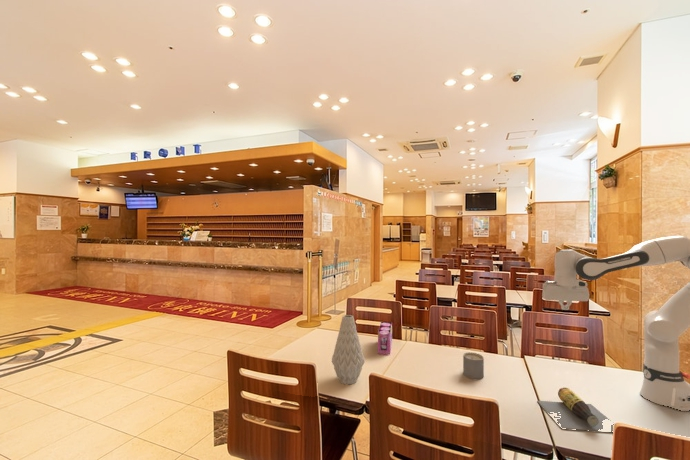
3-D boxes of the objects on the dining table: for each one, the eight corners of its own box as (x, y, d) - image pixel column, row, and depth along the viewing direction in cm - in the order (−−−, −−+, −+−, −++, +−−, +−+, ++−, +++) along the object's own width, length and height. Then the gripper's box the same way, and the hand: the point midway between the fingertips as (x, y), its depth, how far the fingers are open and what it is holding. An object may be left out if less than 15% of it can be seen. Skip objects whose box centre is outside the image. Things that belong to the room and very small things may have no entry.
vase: (367, 374, 163) (367, 313, 163) (360, 390, 147) (360, 322, 147) (337, 370, 168) (337, 310, 168) (327, 385, 152) (327, 319, 152)
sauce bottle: (563, 383, 138) (592, 407, 118) (575, 393, 137) (606, 419, 117) (553, 394, 138) (581, 420, 118) (565, 404, 137) (595, 432, 118)
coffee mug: (482, 381, 156) (482, 361, 156) (461, 376, 161) (461, 357, 161) (485, 370, 168) (485, 352, 168) (466, 366, 173) (466, 348, 173)
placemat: (590, 405, 135) (590, 403, 135) (624, 433, 116) (624, 432, 116) (537, 402, 137) (537, 400, 137) (561, 429, 119) (561, 427, 119)
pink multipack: (390, 355, 188) (390, 333, 188) (377, 354, 190) (377, 332, 190) (392, 341, 212) (392, 322, 212) (380, 341, 213) (380, 321, 213)
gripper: (546, 282, 152) (546, 310, 152) (591, 283, 149) (591, 311, 149) (539, 280, 158) (539, 307, 158) (582, 281, 155) (582, 308, 155)
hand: (565, 309), depth 154 cm, fingers closed
